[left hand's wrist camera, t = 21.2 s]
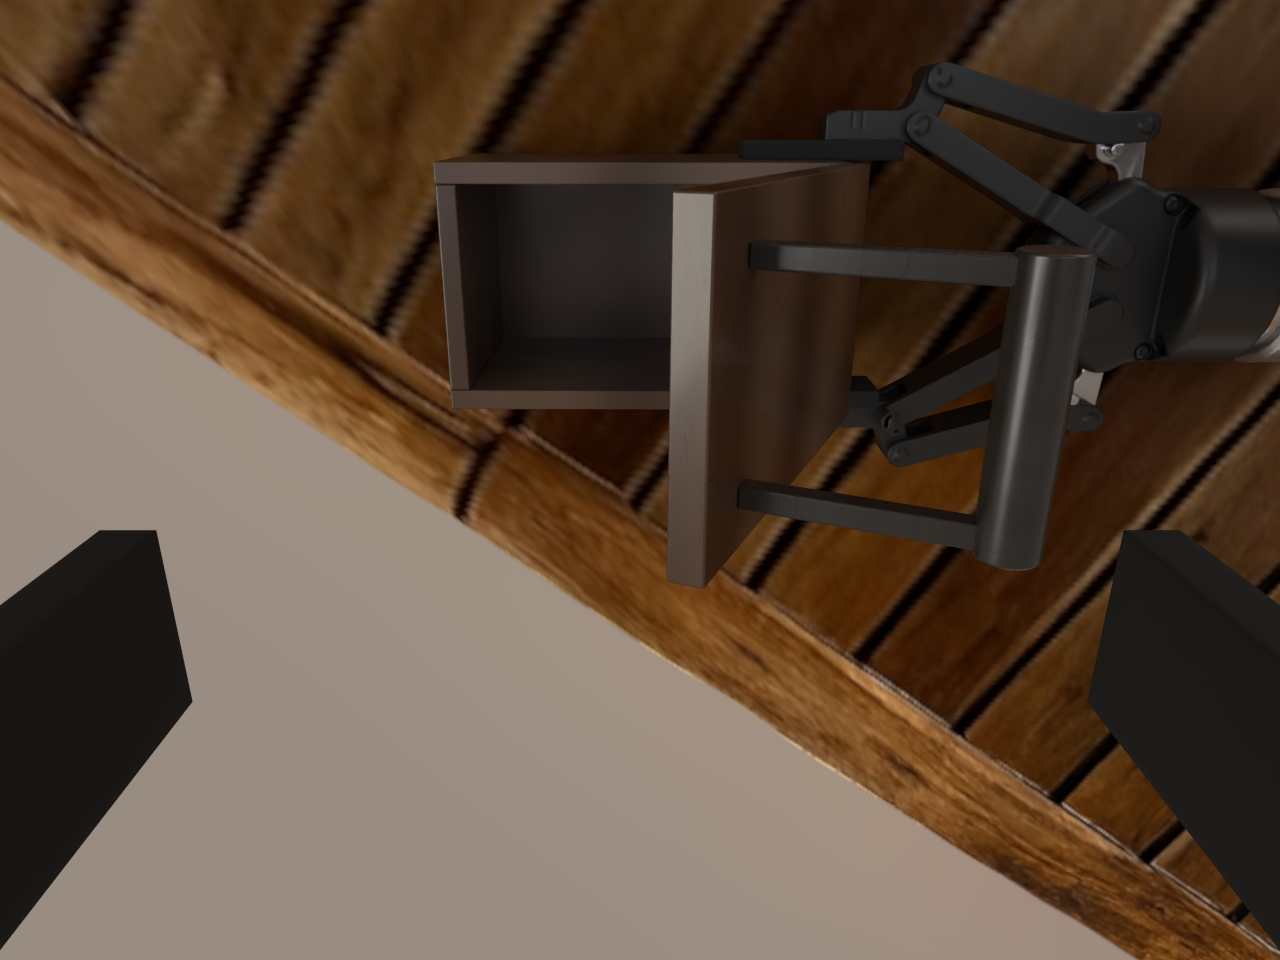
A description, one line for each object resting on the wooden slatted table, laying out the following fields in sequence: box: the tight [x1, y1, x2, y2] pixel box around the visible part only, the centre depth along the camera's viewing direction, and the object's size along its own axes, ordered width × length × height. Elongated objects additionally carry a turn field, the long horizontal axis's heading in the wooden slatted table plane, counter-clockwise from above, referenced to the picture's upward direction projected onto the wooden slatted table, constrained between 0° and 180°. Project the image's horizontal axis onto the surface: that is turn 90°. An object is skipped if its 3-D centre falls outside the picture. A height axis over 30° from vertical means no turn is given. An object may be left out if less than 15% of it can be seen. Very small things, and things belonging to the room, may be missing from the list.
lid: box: [667, 163, 1098, 589], centre depth 27 cm, size 17×10×9 cm
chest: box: [433, 153, 851, 409], centre depth 42 cm, size 16×10×11 cm, turn 90°
